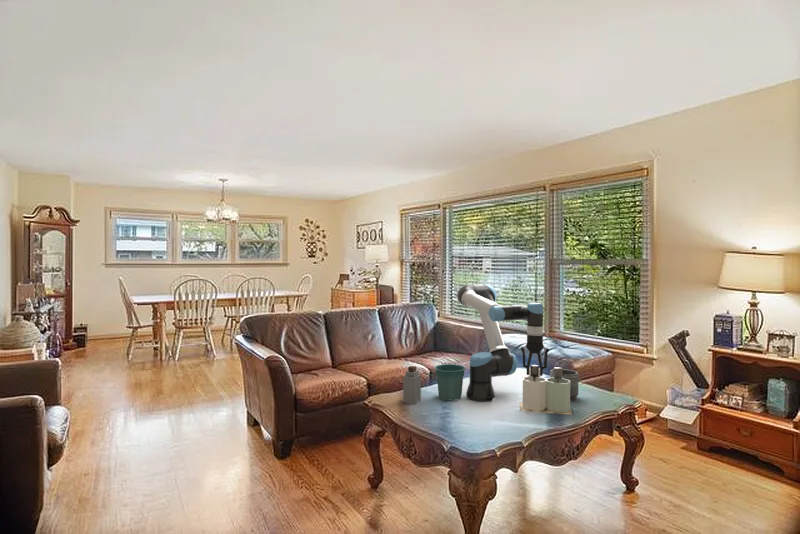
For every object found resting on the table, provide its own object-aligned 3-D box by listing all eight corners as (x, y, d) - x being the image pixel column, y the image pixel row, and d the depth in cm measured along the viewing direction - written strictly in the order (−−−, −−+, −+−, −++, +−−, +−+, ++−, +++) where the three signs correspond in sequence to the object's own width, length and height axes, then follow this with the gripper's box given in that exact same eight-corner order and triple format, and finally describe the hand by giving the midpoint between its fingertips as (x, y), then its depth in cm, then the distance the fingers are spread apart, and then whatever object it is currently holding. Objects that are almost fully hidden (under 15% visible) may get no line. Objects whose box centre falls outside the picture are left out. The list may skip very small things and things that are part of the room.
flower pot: (436, 402, 243) (436, 371, 243) (432, 393, 259) (433, 364, 259) (467, 402, 244) (468, 371, 243) (462, 392, 260) (462, 363, 260)
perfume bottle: (403, 402, 243) (403, 367, 242) (409, 398, 249) (409, 364, 248) (415, 404, 240) (415, 368, 239) (420, 400, 246) (420, 366, 245)
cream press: (522, 409, 228) (523, 381, 227) (522, 401, 242) (522, 374, 241) (546, 411, 225) (546, 382, 225) (544, 402, 239) (544, 375, 239)
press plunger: (525, 398, 229) (525, 367, 228) (525, 394, 237) (525, 363, 236) (543, 400, 227) (544, 368, 226) (542, 395, 235) (543, 364, 234)
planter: (580, 404, 240) (580, 375, 240) (551, 403, 243) (551, 374, 243) (575, 396, 254) (576, 369, 254) (548, 395, 257) (548, 367, 257)
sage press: (546, 411, 225) (547, 370, 225) (544, 402, 239) (545, 363, 239) (570, 413, 223) (571, 371, 222) (567, 404, 236) (568, 364, 236)
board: (519, 413, 227) (519, 410, 227) (519, 404, 240) (519, 402, 240) (572, 417, 221) (572, 414, 221) (568, 408, 235) (568, 405, 235)
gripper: (517, 334, 229) (516, 382, 230) (553, 336, 225) (552, 385, 226) (517, 332, 237) (516, 378, 237) (552, 334, 233) (551, 381, 233)
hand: (534, 381), depth 232 cm, fingers closed on press plunger, 4 cm apart
